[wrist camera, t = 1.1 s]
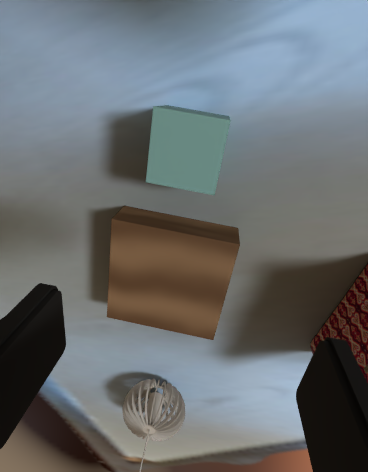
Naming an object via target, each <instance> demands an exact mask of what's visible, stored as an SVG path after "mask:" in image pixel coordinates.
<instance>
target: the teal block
mask: <svg viewBox="0 0 368 472" xmlns="http://www.w3.org/2000/svg"><path fill="white" fill-rule="evenodd" d="M229 125H230V117H229V116H224V115H219V114H213V113H208V112H202V111H196V110H191V109H185V108H180V107H174V106H168V105H165V106H154V107H153V115H152V125H151V135H150V145H149V155H148V165H147V176H146V182H148V183H153V184H158V185H163V186H169V187H174V188H179V189H184V190H189V191H195V192H200V193H205V194H210V195H215V190H216V186H217V181H218V176H219V172H220V167H221V162H222V158H223V153H224V148H225V144H226V139H227V134H228V130H229Z"/></svg>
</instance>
